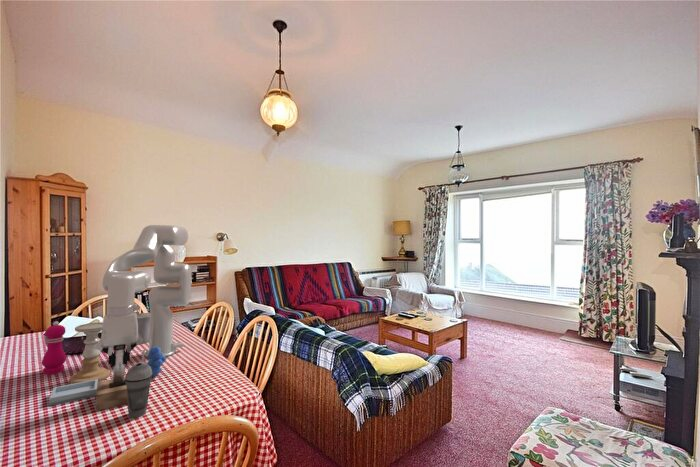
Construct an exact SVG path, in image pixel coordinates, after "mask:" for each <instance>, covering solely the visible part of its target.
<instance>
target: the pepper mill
mask: <svg viewBox="0 0 700 467" xmlns="http://www.w3.org/2000/svg"><path fill="white" fill-rule="evenodd" d="M59 323H60V322H59V321H57V320H56V321H54V322H52V325H51V326H49V327H47V328H46V330H45V332H44V335H45V337H46V343H47V348H46V349H47V350H46V352H45V353H44V354H43V355H44V356H43V357H42V359H41V365H42V367H43V368H42V374H43V375H48V376H49V375H56V374H59V373H62V372H63V371H64V370H65V364H64V363H66V361H67V355H66V352H65V351H64V349H63V341H64V335H65V334H66V327H65V326H64V325H61V324H59Z"/></svg>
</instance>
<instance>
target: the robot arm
mask: <svg viewBox="0 0 700 467" xmlns="http://www.w3.org/2000/svg"><path fill="white" fill-rule="evenodd" d="M188 239H189V234H188V230H187V229H186V228H185V227H183V226H176V225H166V224H165V225H164V224H161V225H160V224H150V225H146V226H145V227H143V229H142V230H141V233H140V234H139V236H138V238H137V240H136V242H135V245H133V248H132V249H130V250H128V251H125V252H124V253H123V254H121V255H119V256H118V257H116V258H115V259H113V260H112V261H111V262H110V264H109V266H108V268H107V269H106V271H105V273H104V275H103V277H102V283H101V285H102V288H103V289H104V290H105V291H106V292H107V304H106V305H107V308H106V310H107V311H106V314H104V316H103V320H102V322H103V324H102V330H101V332H100V333H101V336H100V338H99V339H100V340H99V342H98V343H97V345H96V346H95V349H97V350H100V352H103V353H105V354H106V355H107V356H108V362H107V364H108V365H110V368H113V367H114V346H117V345H123V344H125V366H127V365H128V362H130V360H131V357H130V356H131V352H132V350H134V349H135V348H136V347H137V346H138V345H141V344H140V343H142V342H143V339H142V338H141V336H140V335H139V334H138V320H137V314H138V313H137V312H136V311H139V310H140V305H136V304H135V299H136V297H135V294H136V293H141V292H145V290H147V289H148V288H149V287H150V286H151V285H150V284H151V281H152V279H151V275H150V274H149V273H147V272H146V271H142V270H141V271H140V270H139V271H137V270H129V269H131V268H135V267H137V266H142V265H144V264H147V263H151V262H152V261H153V281H154V282H155V283H157V284H158V283H159V284H178V285H161V286H154V287H152V288H151V289H150V290H149V291H148V292H149V293H148V303H149V313H150V334H149V342H148V350H147V351H146V350H145V354H144V358H145V357H146V358H148V357H147V356H148V354H149V353H150V352H149V351H150V349H151V348H152V347H159V348H160V349H161V351H160V352H161V353H162V354H163V356H165V357H166V358H167V357H169V356H172V355H174V354H175V353H176V352H177V349H178V348H184V342H174V341H173V340H174V339H173V336H174V313H173V311H172V310H171V309H170V307H186V306H188V305H189V303H190V302H191V297H192V294H191V293H192V274H193V272H192V268H191V266H190V265H189V264H188V263H180V262H179V263H177V262H176V261H175V260H176V253H175V249H174V248H173V247H172V246H177V247H178V246H184V245H185V244H186V243H187V242H188ZM131 343H132V344H131ZM148 359H149V358H148Z"/></svg>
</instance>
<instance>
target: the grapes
mask: <svg viewBox="0 0 700 467" xmlns="http://www.w3.org/2000/svg"><path fill="white" fill-rule="evenodd" d="M160 351H161V349H160V348H159V347H152V348H151V349H150V351H149V352H150V353H149V354H148V356H147V357H148V361H147V363H146V364H147V365H149V366H150V367H151V369H152V374H153V376H152V378H153V377H154V378H155V377H157V376H158V375H159V374H160V373H161V372H162V370H163V368H162V367H161V366H163V364H164V363H165V362H166V361H167V359H168V358H167V357H165V356H163V354H162V353H161V352H160ZM147 357H146V358H147Z"/></svg>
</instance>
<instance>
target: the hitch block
mask: <svg viewBox="0 0 700 467" xmlns="http://www.w3.org/2000/svg"><path fill="white" fill-rule="evenodd" d="M125 378H126V376H124V384H122V385H120V386H113V378H112V379H106V380H105V379H104V380H101V381H99V382H97V393H96V396H95V397H96V398H95V412H97V411H102V410H107V409H112V408H115V407H120V406H124V405H128V400H127V387H126V381H125Z"/></svg>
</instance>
